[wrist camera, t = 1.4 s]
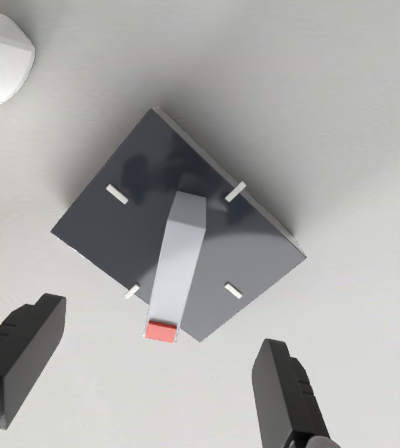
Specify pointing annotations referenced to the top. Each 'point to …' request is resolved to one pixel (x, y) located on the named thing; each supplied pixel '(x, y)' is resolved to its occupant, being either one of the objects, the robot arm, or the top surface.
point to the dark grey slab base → (157, 218)
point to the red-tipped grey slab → (176, 266)
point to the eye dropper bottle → (13, 58)
